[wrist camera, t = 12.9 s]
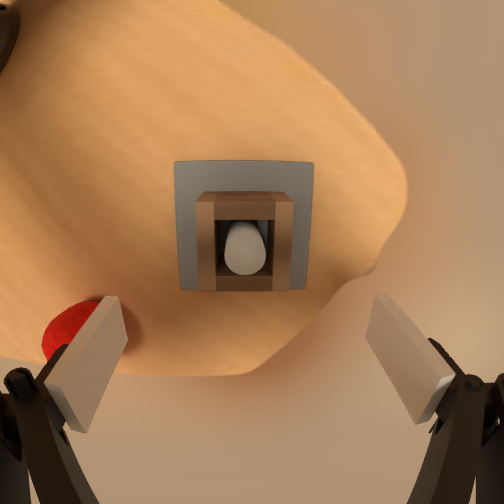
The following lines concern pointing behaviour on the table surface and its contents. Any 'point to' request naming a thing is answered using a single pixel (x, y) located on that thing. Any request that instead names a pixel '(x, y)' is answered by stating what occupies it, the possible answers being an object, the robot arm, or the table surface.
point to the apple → (66, 326)
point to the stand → (242, 231)
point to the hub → (244, 208)
